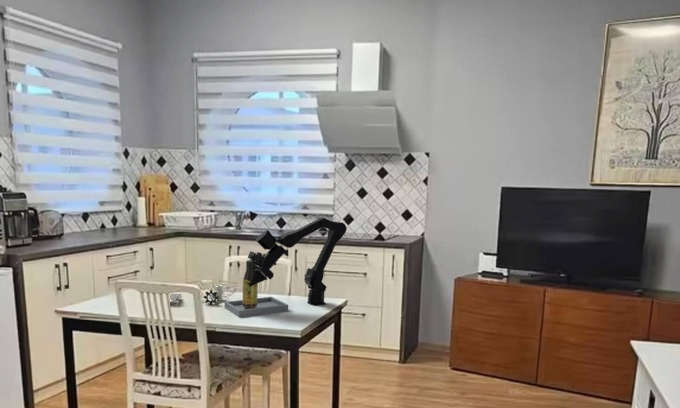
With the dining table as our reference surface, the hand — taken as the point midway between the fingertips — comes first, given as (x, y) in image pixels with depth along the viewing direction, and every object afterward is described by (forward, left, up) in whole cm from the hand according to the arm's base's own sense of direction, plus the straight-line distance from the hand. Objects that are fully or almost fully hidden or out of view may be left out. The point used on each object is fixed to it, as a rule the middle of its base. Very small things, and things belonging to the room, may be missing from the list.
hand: (247, 284), depth 212 cm
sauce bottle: (-1, 0, -10) cm, 10 cm away
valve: (+7, -21, -11) cm, 25 cm away
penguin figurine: (+23, -29, -11) cm, 39 cm away
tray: (-4, 0, -11) cm, 12 cm away
